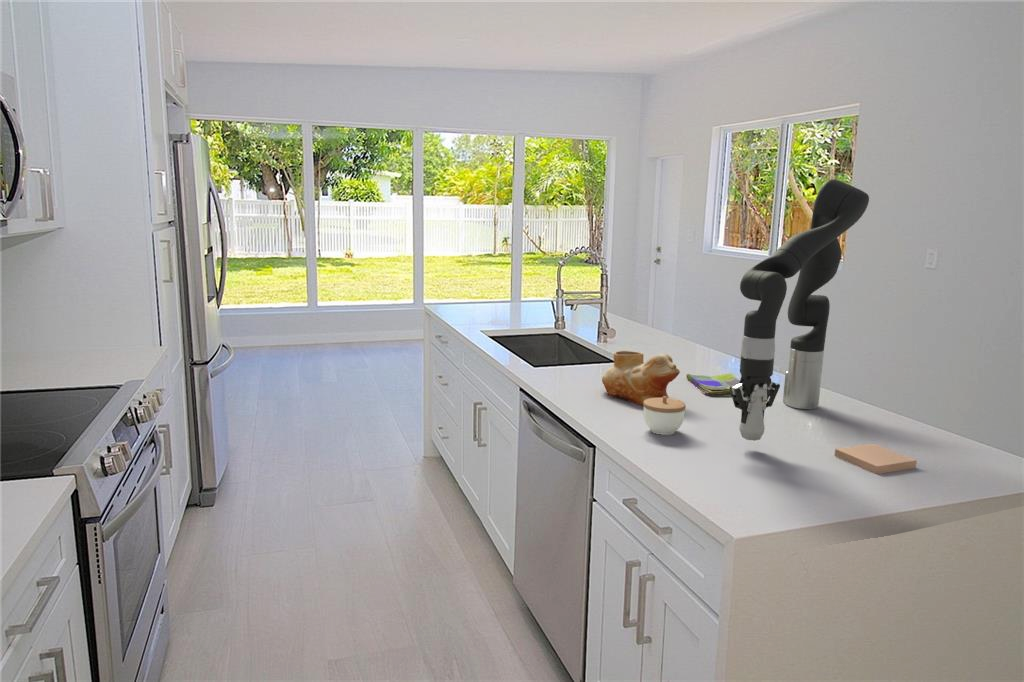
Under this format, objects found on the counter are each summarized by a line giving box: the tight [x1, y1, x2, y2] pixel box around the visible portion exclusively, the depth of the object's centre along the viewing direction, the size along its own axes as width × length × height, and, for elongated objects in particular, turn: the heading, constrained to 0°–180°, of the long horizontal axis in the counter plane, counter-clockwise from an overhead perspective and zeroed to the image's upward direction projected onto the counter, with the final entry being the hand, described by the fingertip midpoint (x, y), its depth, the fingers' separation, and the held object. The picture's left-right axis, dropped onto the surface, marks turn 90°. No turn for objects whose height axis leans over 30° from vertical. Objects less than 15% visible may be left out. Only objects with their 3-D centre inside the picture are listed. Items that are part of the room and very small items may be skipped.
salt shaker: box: [738, 387, 765, 442], centre depth 171 cm, size 6×6×13 cm
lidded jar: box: [643, 396, 686, 436], centre depth 184 cm, size 11×11×9 cm
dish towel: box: [686, 373, 743, 396], centre depth 232 cm, size 18×24×3 cm
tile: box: [834, 443, 917, 475], centre depth 165 cm, size 2×12×12 cm
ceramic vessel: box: [601, 350, 681, 407], centre depth 216 cm, size 14×26×15 cm, turn 40°
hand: (751, 424), depth 171 cm, fingers closed on salt shaker, 3 cm apart
